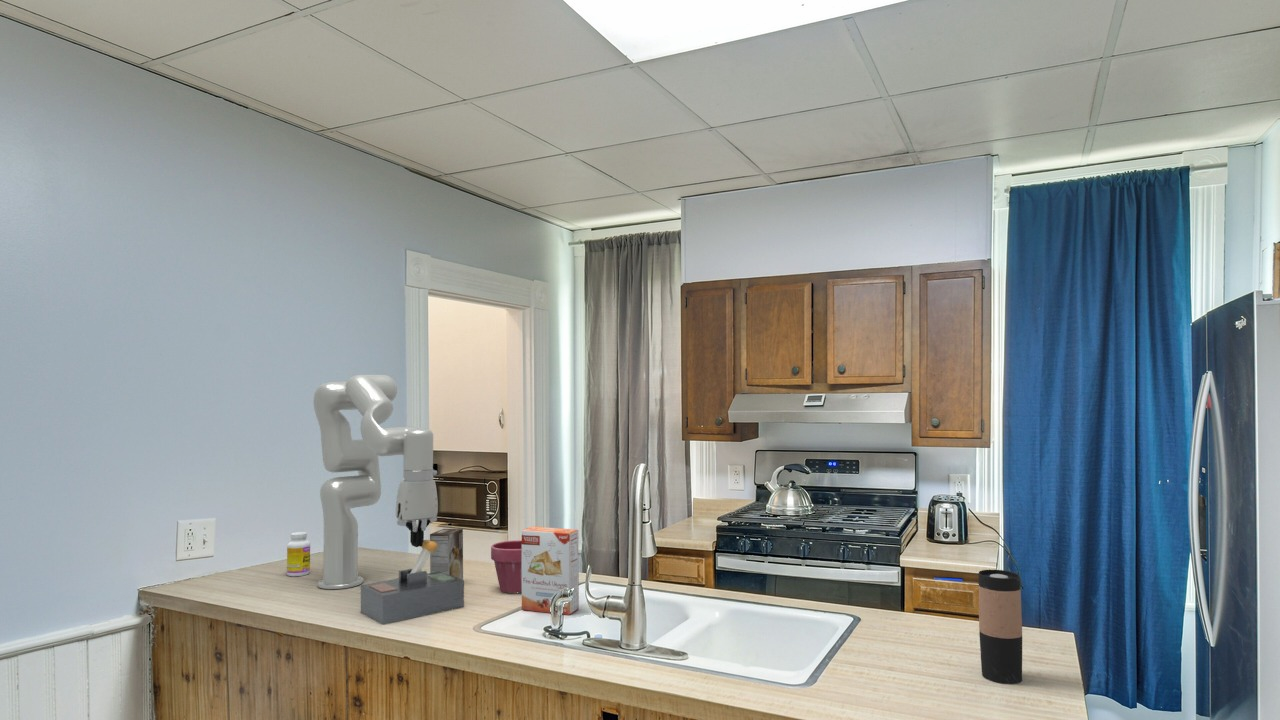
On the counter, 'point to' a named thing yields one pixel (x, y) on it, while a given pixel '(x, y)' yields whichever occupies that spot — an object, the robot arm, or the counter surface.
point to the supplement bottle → (298, 555)
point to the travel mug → (1000, 626)
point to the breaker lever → (424, 555)
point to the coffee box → (447, 552)
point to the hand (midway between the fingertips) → (416, 545)
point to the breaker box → (411, 596)
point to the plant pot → (508, 565)
